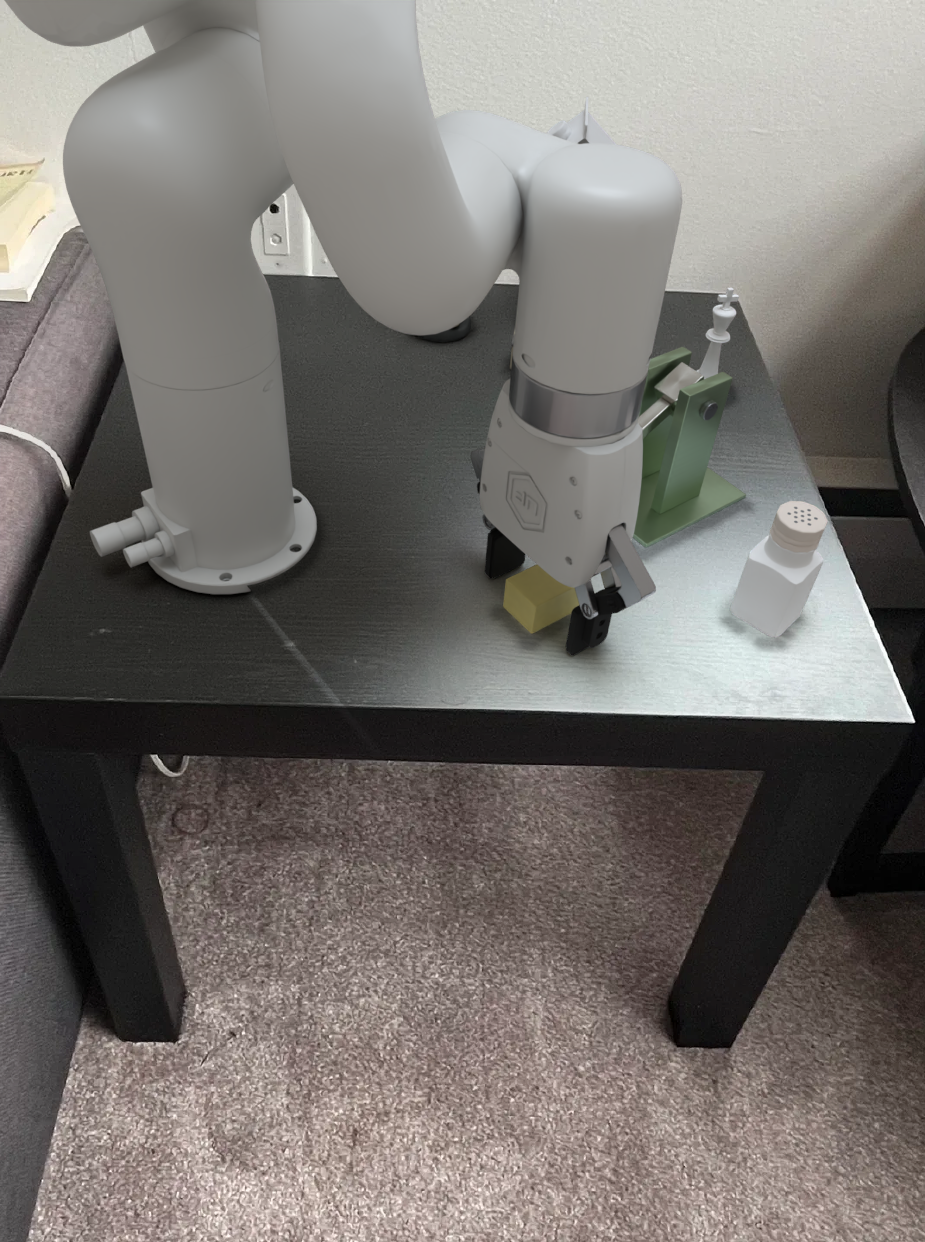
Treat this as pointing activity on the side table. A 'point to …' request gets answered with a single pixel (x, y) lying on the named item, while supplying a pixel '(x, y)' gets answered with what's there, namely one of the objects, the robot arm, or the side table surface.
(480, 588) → the side table surface
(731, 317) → the chess piece
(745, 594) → the pepper shaker
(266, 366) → the robot arm
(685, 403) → the green lever stand
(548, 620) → the butter
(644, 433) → the lever
